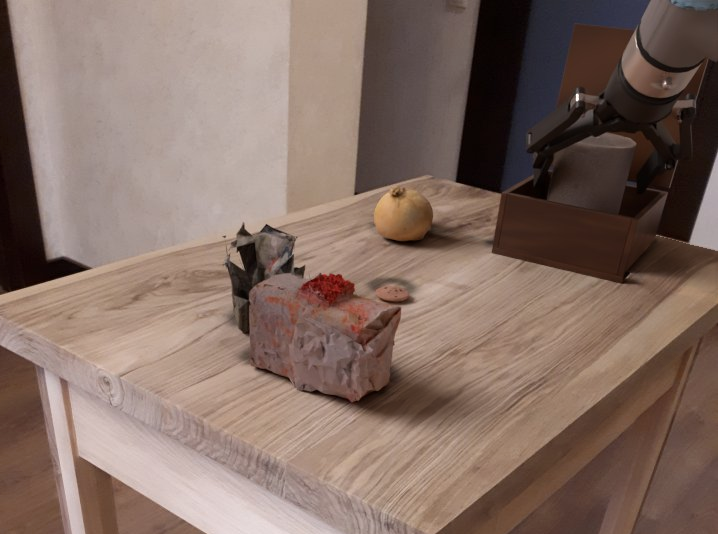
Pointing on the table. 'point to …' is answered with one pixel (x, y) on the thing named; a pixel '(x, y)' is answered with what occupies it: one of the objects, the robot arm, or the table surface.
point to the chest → (576, 230)
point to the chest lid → (593, 71)
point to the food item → (322, 334)
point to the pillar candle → (592, 173)
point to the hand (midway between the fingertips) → (587, 181)
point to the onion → (403, 215)
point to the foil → (258, 265)
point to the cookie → (392, 293)
